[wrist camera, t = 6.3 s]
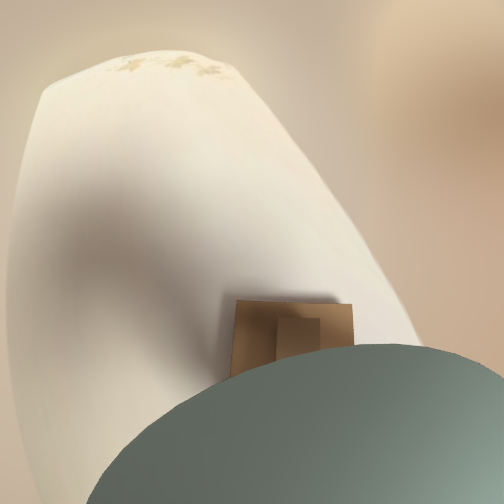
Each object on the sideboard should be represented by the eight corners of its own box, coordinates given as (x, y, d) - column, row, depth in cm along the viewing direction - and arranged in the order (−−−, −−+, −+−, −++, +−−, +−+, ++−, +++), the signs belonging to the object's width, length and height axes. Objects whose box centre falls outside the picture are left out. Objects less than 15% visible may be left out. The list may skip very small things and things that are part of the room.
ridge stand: (336, 568, 12) (350, 590, 9) (218, 568, 13) (209, 591, 9) (346, 311, 23) (361, 288, 19) (238, 308, 23) (233, 284, 20)
